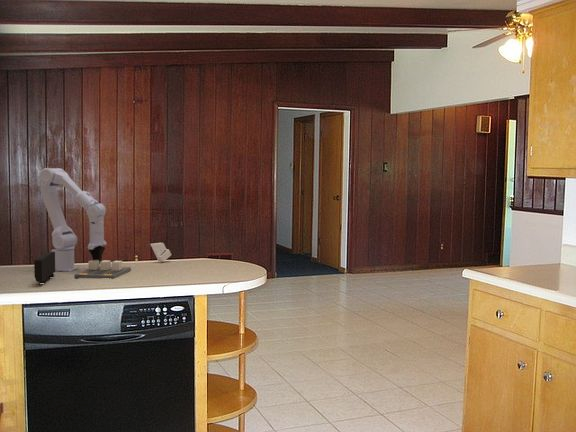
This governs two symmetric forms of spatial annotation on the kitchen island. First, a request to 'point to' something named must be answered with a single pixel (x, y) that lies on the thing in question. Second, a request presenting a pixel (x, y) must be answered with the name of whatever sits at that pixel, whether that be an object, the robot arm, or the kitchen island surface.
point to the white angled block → (161, 251)
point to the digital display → (44, 267)
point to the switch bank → (102, 273)
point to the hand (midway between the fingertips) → (97, 264)
